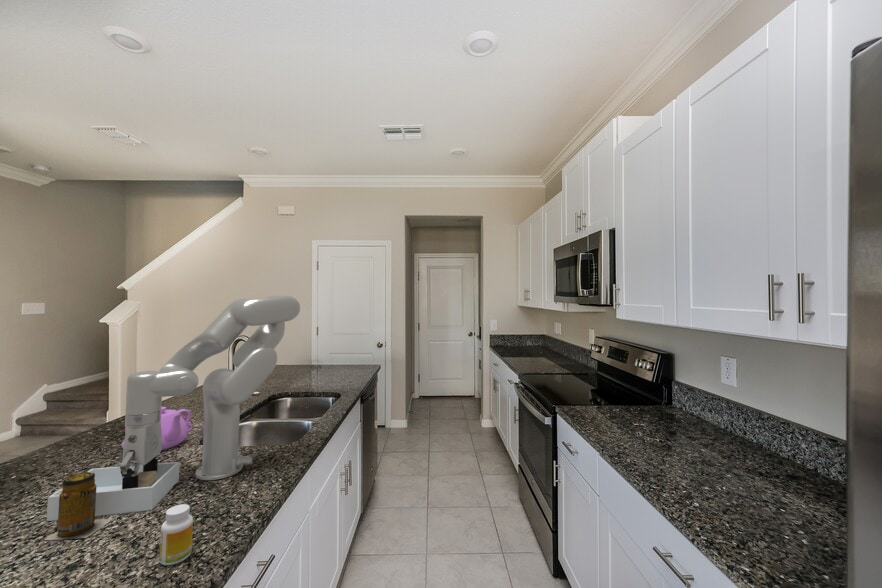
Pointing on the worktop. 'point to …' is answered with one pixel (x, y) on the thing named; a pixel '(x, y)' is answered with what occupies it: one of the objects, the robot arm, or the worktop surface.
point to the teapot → (172, 427)
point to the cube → (146, 478)
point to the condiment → (77, 508)
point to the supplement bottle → (176, 535)
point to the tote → (123, 491)
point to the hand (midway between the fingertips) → (140, 482)
